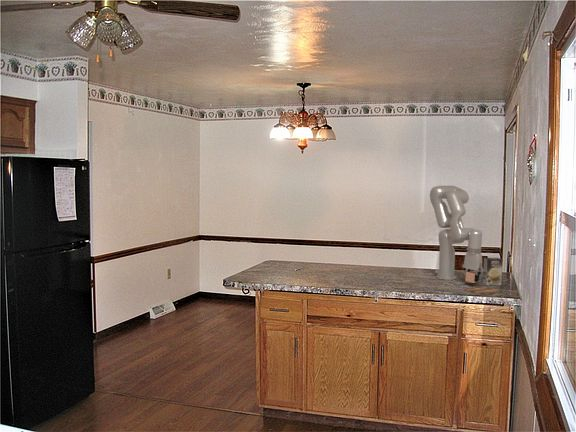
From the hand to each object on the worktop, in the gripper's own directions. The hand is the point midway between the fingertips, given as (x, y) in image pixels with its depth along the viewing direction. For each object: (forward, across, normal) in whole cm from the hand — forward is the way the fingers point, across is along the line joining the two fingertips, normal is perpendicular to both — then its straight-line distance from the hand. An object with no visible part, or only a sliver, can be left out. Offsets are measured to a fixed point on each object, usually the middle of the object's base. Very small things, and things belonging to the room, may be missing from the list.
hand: (472, 280), depth 334 cm
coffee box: (+4, +5, +14) cm, 15 cm away
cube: (+1, 0, 0) cm, 1 cm away
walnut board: (+3, +14, -8) cm, 16 cm away
